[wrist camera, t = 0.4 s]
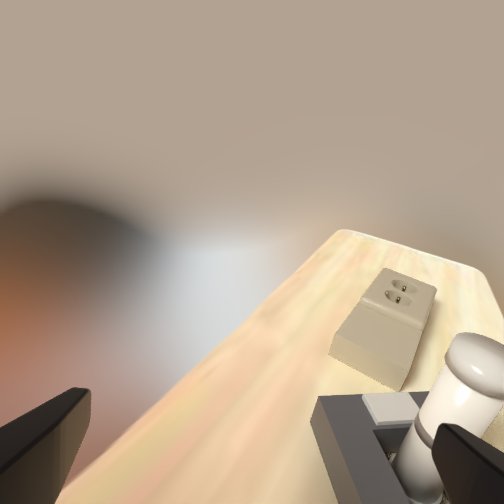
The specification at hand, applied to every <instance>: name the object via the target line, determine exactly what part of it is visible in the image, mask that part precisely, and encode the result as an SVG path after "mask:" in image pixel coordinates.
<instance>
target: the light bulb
mask: <svg viewBox="0 0 504 504" xmlns="http://www.w3.org/2000/svg"><path fill="white" fill-rule="evenodd" d="M445 362H446V363H445V364H444V366H443V368H442V370H441V372H440V374H439V375H438V377H437V379H436V381H435V383H434V385H433V386H432V388H431V390H430V392H429V394H428V396H427V398H426V399H425V401H424V403H423V405H422V407H421V408H420V410H419V412H418V413H417V415H416V417H415V419H414V422H413V423H412V425H411V427H410V429H409V431H408V433H407V434H406V436H405V438H404V440H403V442H402V444H401V445H400V447H399V449H398V451H397V453H395V454H393V455H392V456H391V457H390V459H389V463H390V465H391V467H392V469H393V471H394V473H395V475H396V477H397V478H398V480H399V482H400V484H401V486H402V488H403V490H404V492H405V494H406V496H407V498H408V500H409V502H410V504H440V503H441V501H442V498H443V491H444V490H445V488H444V486H443V483H442V481H441V478H440V476H439V474H438V471H437V469H436V466H435V464H434V462H433V459H432V455H431V448H432V444H433V441H434V438H435V435H436V431H437V428H438V426H439V425H440V424H441V423H451V424H457V425H459V426H461V427H463V428H464V429H466V430H467V431H469V432H471V433H472V434H474V435H475V436H477V437H479V438H481V437H482V436H483V434H484V433H485V431H486V430H487V428H488V427H489V426H490V424H491V423H492V421H493V420H494V418H495V417H496V416H497V414H498V413H499V411H500V410H501V408H502V407H503V406H504V345H503V344H501V343H499V342H497V341H495V340H493V339H491V338H488V337H486V336H483V335H479V334H475V333H459V334H457V335H456V336H455V337H454V339H453V341H452V343H451V344H450V346H449V348H448V350H447V352H446V354H445Z"/></svg>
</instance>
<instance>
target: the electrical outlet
mask: <svg viewBox="0 0 504 504" xmlns="http://www.w3.org/2000/svg"><path fill="white" fill-rule="evenodd" d="M436 292H437V289H436V288H435V287H434V286H431V285H429V284H426V283H424V282H421V281H418V280H416V279H413V278H411V277H408V276H405V275H403V274H400V273H398V272H395V271H393V270H390V269H387V268H383V269H382V270H381V272H380V273H379V274H378V276H377V277H376V278H375V280H374V281H373V282H372V284H371V285H370V286H369V288H368V289H367V290H366V292H365V293H364V294H363V295H362V297H361V298H360V300H359V303H358V304H357V305H356V307H355V308H354V309H353V311H352V312H351V313H350V315H349V316H348V317H347V319H346V320H345V321H344V323H343V324H342V325H341V327H340V328H339V329H338V330H337V332H336V333H335V336H334V339H333V342H332V345H331V348H330V351H329V354H328V355H330V356H332V357H333V358H335V359H337V360H339V361H341V362H343V363H345V364H346V365H348V366H350V367H352V368H354V369H356V370H358V371H359V372H361V373H363V374H365V375H367V376H369V377H370V378H372V379H374V380H376V381H378V382H380V383H382V384H383V385H385V386H387V387H389V388H391V389H393V390H395V391H396V392H399V391H400V389H401V387H402V385H403V383H404V381H405V379H406V377H407V375H408V373H409V371H410V368H411V365H412V362H413V359H414V356H415V353H416V350H417V347H418V344H419V341H420V338H421V335H422V332H423V329H424V327H425V325H426V322H427V319H428V316H429V313H430V310H431V307H432V304H433V301H434V298H435V295H436Z"/></svg>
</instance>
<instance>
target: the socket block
mask: <svg viewBox="0 0 504 504" xmlns="http://www.w3.org/2000/svg"><path fill="white" fill-rule="evenodd" d="M429 392H430V391H426V392H397V393H374V394H356V395H332V396H318V399H317V402H316V405H315V408H314V411H313V414H312V417H311V420H310V423H311V426H312V429H313V432H314V435H315V438H316V440H317V443H318V446H319V449H320V452H321V455H322V458H323V460H324V463H325V466H326V469H327V472H328V475H329V478H330V480H331V483H332V486H333V489H334V492H335V495H336V498H337V500H338V503H339V504H410V502H409V500H408V498H407V496H406V494H405V492H404V490H403V488H402V486H401V484H400V482H399V480H398V478H397V477H396V475H395V473H394V471H393V469H392V467H391V465H390V463H389V461H388V459H387V457H386V455H385V454H386V453H397V451H398V449H399V447H400V445H401V444H402V442H403V440H404V438H405V436H406V434H407V433H408V431H409V429H410V427H411V425H412V423H413V422H414V419H415V417H416V415H417V413H418V412H419V410H420V408H421V407H422V405H423V403H424V401H425V399H426V398H427V396H428V394H429ZM443 492H444V494H445V496H446V497H447V499H448V501H449V502H450V500H449V498H448V495H447V493H446V490H444V491H443ZM450 504H451V502H450Z"/></svg>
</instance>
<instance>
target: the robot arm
mask: <svg viewBox="0 0 504 504" xmlns="http://www.w3.org/2000/svg"><path fill="white" fill-rule="evenodd" d="M90 415H91V391H90V390H89V389H86V388H77V387H74V388H71V389H69V390H67V391H66V392H63V393H62V394H60V395H58V396H56V397H54V398H53V399H51V400H49V401H47V402H45V403H44V404H42V405H40V406H38V407H36V408H35V409H33V410H31V411H29V412H27V413H26V414H24V415H22V416H20V417H18V418H17V419H15V420H13V421H11V422H9V423H8V424H6V425H4V426H2V427H0V504H55V502H56V500H57V498H58V496H59V494H60V492H61V490H62V487H63V485H64V483H65V480H66V478H67V476H68V473H69V471H70V469H71V466H72V464H73V461H74V459H75V457H76V455H77V452H78V450H79V448H80V445H81V443H82V441H83V438H84V436H85V434H86V431H87V429H88V426H89V422H90ZM431 455H432V459H433V462H434V464H435V466H436V469H437V471H438V474H439V476H440V478H441V481H442V483H443V486H444V488H445V490H446V493H447V495H448V498H449V500H450V502H451V504H504V453H503V452H501V451H500V450H498V449H496V448H495V447H493V446H492V445H490V444H488V443H487V442H485V441H484V440H482V439H480V438H479V437H477V436H475V435H474V434H472V433H471V432H469V431H467V430H466V429H464V428H463V427H461V426H459V425H457V424H451V423H441V424H440V425H439V426H438V428H437V431H436V435H435V438H434V441H433V444H432V448H431Z"/></svg>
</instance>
